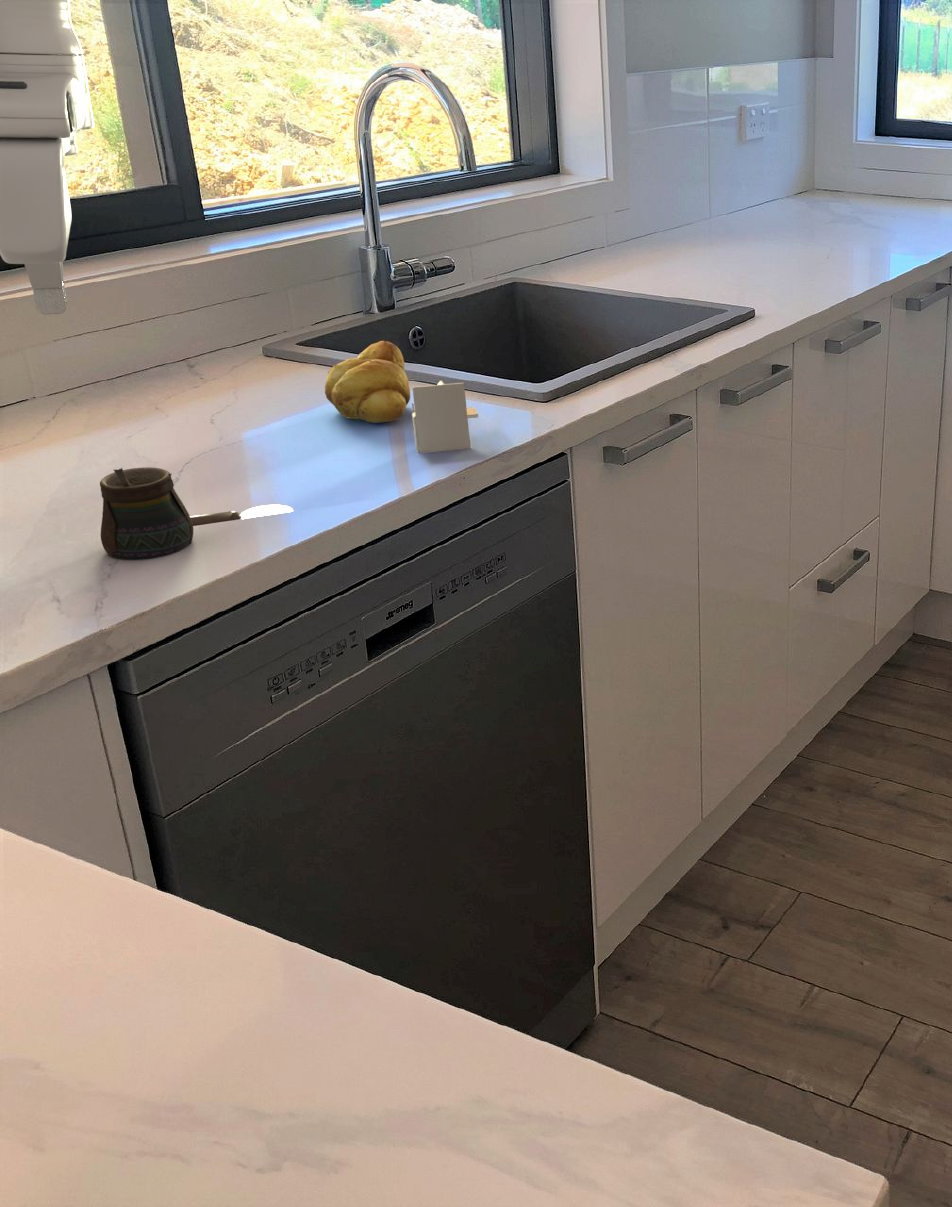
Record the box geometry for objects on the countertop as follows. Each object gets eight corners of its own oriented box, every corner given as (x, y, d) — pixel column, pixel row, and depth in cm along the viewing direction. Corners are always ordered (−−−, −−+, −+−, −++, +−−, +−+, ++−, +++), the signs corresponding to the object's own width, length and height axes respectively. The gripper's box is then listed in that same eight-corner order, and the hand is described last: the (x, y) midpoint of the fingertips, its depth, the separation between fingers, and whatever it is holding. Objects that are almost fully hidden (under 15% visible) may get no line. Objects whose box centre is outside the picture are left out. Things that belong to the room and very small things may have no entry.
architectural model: (414, 445, 148) (406, 380, 145) (476, 438, 150) (470, 374, 147) (418, 453, 145) (410, 387, 142) (481, 447, 147) (475, 382, 144)
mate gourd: (200, 543, 119) (179, 437, 115) (197, 573, 113) (175, 462, 109) (112, 554, 117) (88, 446, 113) (104, 585, 110) (78, 472, 106)
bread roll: (421, 425, 155) (413, 358, 152) (335, 433, 151) (325, 365, 148) (405, 398, 166) (398, 335, 162) (325, 406, 162) (315, 341, 159)
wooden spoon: (131, 550, 118) (127, 533, 117) (130, 532, 122) (127, 516, 121) (297, 527, 124) (295, 511, 123) (292, 511, 127) (289, 496, 127)
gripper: (-27, 90, 94) (10, 286, 99) (-56, 107, 77) (-10, 342, 82) (72, 93, 96) (103, 284, 102) (65, 110, 80) (103, 337, 85)
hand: (53, 310), depth 92 cm, fingers closed
